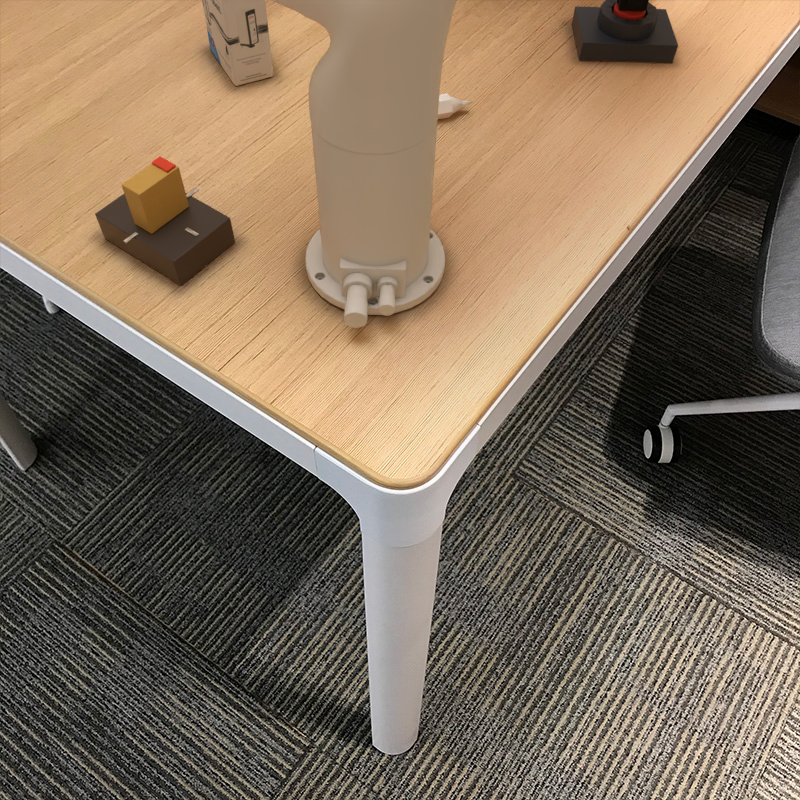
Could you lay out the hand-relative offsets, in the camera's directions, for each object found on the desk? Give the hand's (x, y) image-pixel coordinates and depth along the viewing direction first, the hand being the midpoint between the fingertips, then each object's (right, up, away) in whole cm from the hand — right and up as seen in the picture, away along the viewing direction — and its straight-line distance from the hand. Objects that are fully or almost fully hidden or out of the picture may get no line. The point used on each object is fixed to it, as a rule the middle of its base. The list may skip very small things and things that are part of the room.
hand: (630, 7), depth 89 cm
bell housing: (0, -3, +3) cm, 4 cm away
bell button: (0, -1, +1) cm, 2 cm away
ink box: (-45, -7, 0) cm, 45 cm away
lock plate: (-48, -31, -17) cm, 60 cm away
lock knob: (-48, -29, -20) cm, 59 cm away
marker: (-26, -16, -6) cm, 31 cm away
